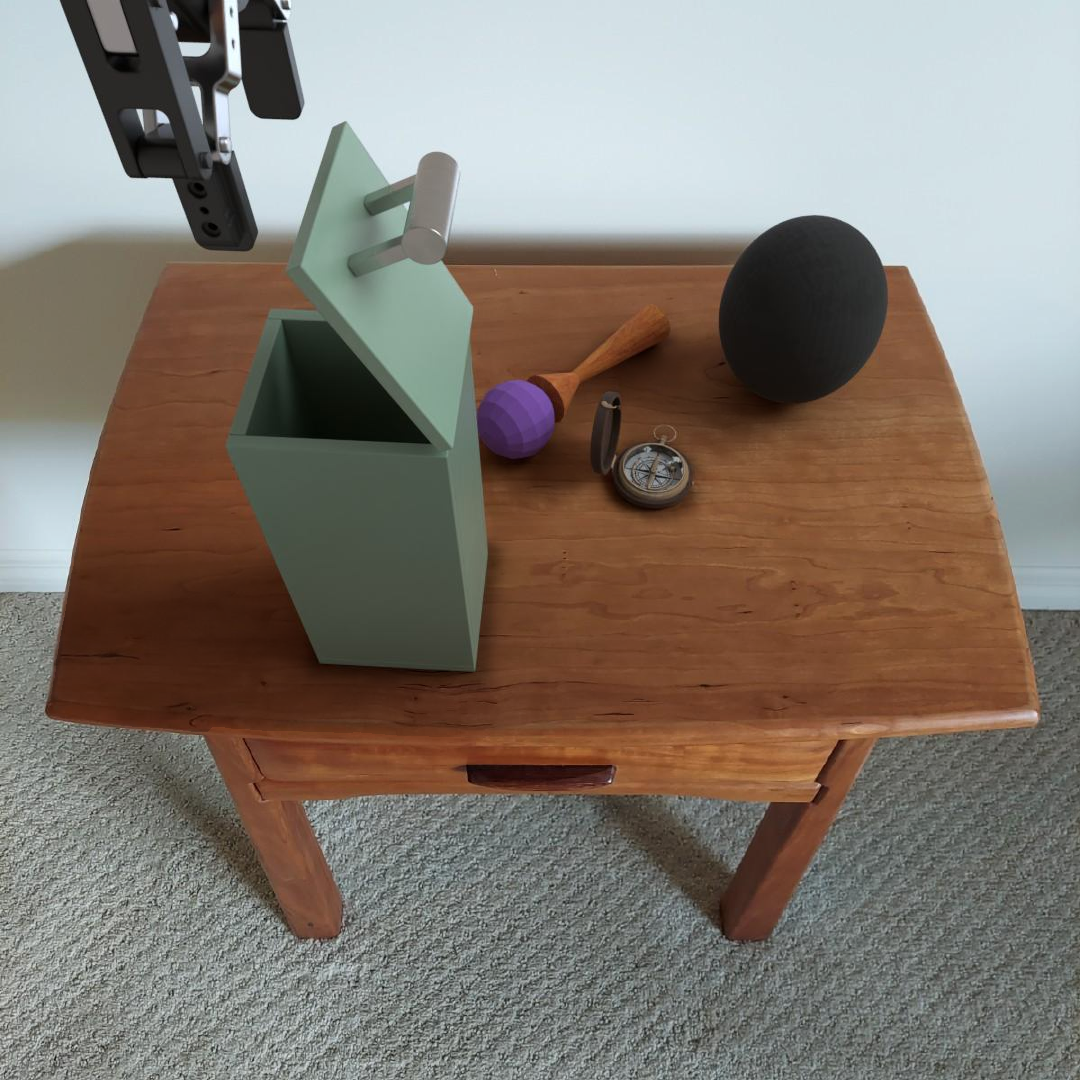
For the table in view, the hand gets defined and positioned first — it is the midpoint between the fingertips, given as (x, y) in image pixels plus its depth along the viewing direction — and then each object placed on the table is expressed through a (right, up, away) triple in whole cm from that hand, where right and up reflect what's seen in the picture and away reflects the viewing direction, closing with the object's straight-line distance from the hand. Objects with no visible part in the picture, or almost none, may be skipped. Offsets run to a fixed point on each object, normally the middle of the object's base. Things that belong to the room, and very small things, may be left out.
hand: (256, 176), depth 37 cm
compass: (+20, -9, +35) cm, 41 cm away
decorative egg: (+32, -1, +41) cm, 51 cm away
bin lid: (+5, -3, +5) cm, 7 cm away
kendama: (+14, -3, +40) cm, 42 cm away
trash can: (+2, -19, +28) cm, 34 cm away
